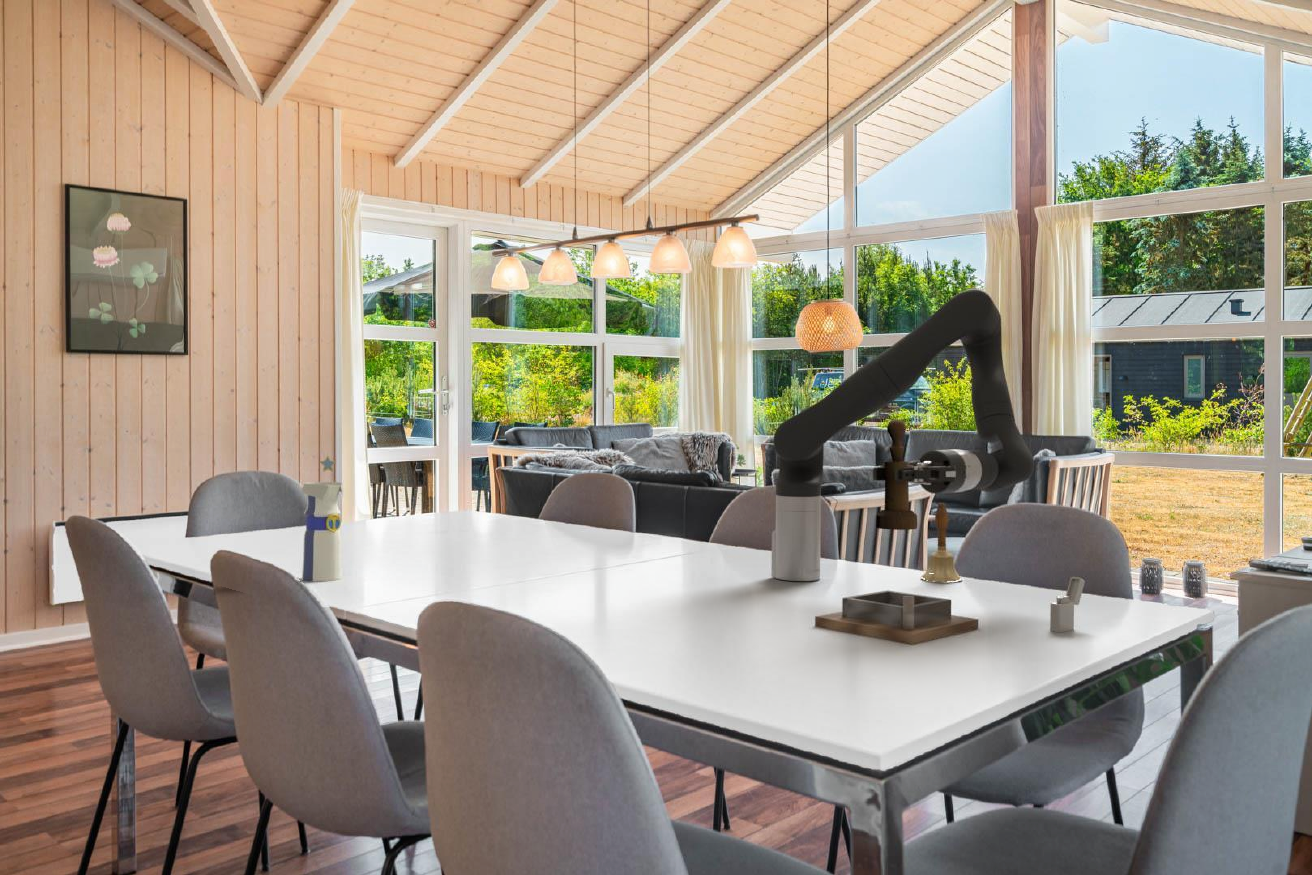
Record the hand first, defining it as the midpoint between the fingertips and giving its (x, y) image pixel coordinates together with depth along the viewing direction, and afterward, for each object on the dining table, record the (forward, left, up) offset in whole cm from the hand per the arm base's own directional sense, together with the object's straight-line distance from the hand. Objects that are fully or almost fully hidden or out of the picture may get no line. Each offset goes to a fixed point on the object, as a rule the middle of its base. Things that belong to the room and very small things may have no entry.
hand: (885, 474), depth 171 cm
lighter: (+23, +16, -24) cm, 37 cm away
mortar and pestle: (0, +3, -9) cm, 10 cm away
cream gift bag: (-100, -51, -24) cm, 115 cm away
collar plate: (+5, -4, -24) cm, 25 cm away
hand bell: (-19, +46, -24) cm, 55 cm away
